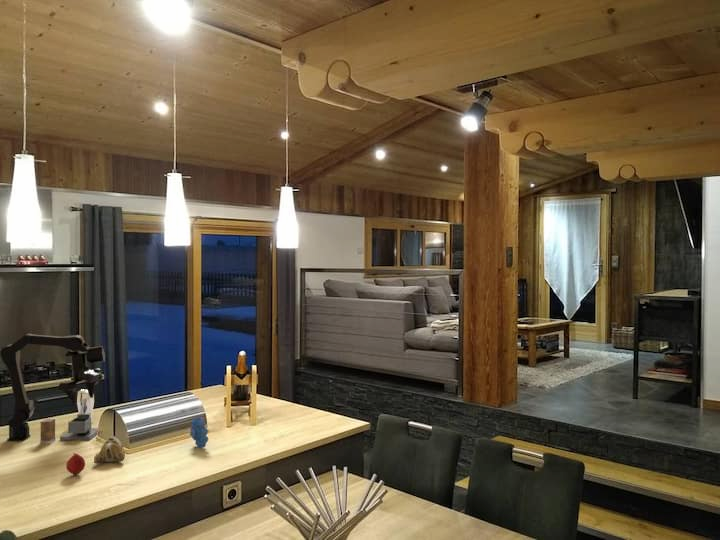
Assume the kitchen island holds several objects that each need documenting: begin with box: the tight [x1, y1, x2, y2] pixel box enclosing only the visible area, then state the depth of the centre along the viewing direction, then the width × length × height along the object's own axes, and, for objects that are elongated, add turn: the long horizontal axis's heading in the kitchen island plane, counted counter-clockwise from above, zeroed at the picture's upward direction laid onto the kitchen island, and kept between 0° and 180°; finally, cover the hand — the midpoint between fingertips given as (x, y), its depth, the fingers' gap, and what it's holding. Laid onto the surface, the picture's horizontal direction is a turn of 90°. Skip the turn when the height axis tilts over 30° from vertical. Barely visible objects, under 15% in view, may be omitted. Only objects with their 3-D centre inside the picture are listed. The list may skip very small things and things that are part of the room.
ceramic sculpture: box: [93, 435, 126, 465], centre depth 218 cm, size 11×9×15 cm
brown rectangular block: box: [39, 418, 56, 445], centre depth 238 cm, size 4×4×9 cm
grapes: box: [189, 415, 209, 448], centre depth 235 cm, size 12×7×12 cm, turn 44°
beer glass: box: [76, 388, 95, 425], centre depth 264 cm, size 7×7×15 cm
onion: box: [66, 452, 86, 476], centre depth 203 cm, size 6×6×8 cm
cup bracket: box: [59, 412, 99, 441], centre depth 247 cm, size 12×12×8 cm
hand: (83, 400), depth 249 cm, fingers open, 9 cm apart
